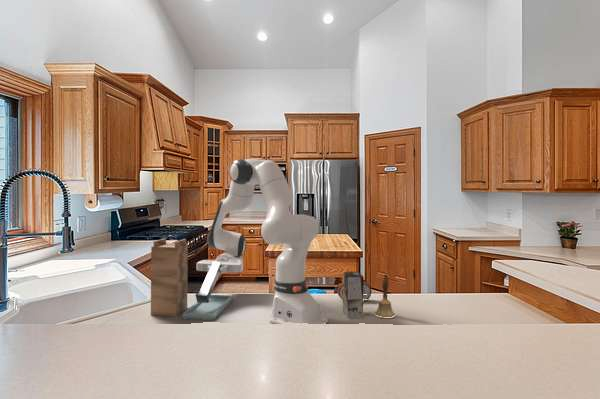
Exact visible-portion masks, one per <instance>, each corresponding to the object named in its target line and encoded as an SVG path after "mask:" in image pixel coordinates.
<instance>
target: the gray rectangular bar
mask: <svg viewBox="0 0 600 399" xmlns="http://www.w3.org/2000/svg"><path fill="white" fill-rule="evenodd" d="M220 267H222V264H221V262H214V261H213V263H212V265H211V267H210V270H209V272H207V274H206V276H205V279H204V281H203V283H202V285H201V288H200V290H199V292H198V293H195V299H196V302H199V303H209V298H210V295H212V292H213V291H214V287H215V285H216V283H217V280H218V278H219V277H220V274H221V273H220V272H219V268H220Z"/></svg>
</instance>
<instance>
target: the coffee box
mask: <svg viewBox="0 0 600 399" xmlns="http://www.w3.org/2000/svg"><path fill="white" fill-rule="evenodd" d="M364 279H365V278H364V275H362V274H361V273H360V272H359V271H344V272H343V282H344V287H343V300H342V305H343V306H342V312H343V311H344V312H343V314H344V315H345V317H346V319H348V318H349V319H363V318H364V301H363V288H364V282H365V281H364Z"/></svg>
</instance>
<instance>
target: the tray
mask: <svg viewBox="0 0 600 399" xmlns="http://www.w3.org/2000/svg"><path fill="white" fill-rule="evenodd" d="M232 301H233V295H225V294H223V295H222V294H211V295H210V298H209V303H199V302H197V301H196V302H195V303H194V304H192V305H191V306H190V307H188V309H187V308H186V309H185V310H184V312H182V317H181V318H182V320H194V319H204V320H203V321H213V320H214V321H215V320H216V319H217V318H218V317H219V316H220V314H221V313H222V312H224V310H225V309H226V308H227V307H228V306H229V305H230V304H231V303H232ZM184 318H186V319H184Z"/></svg>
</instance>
